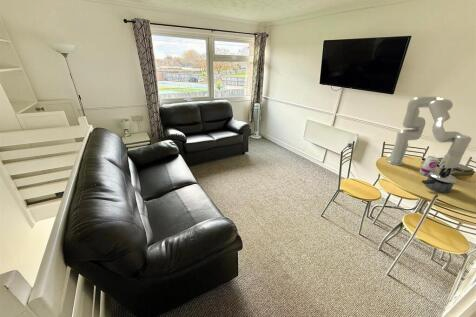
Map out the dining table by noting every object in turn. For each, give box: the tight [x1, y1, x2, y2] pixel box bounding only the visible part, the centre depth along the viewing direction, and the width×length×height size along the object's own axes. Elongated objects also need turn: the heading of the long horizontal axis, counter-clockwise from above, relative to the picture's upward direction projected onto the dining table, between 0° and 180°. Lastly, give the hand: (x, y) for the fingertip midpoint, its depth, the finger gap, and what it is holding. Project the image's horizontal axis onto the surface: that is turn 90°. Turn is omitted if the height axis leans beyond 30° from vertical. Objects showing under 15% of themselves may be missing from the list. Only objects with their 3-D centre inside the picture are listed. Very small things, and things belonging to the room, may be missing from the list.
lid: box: [429, 169, 458, 184], centre depth 148 cm, size 15×15×6 cm
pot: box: [421, 175, 455, 194], centre depth 152 cm, size 14×23×7 cm, turn 97°
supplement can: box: [419, 155, 440, 177], centre depth 168 cm, size 8×8×15 cm
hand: (443, 175), depth 149 cm, fingers closed on lid, 3 cm apart
